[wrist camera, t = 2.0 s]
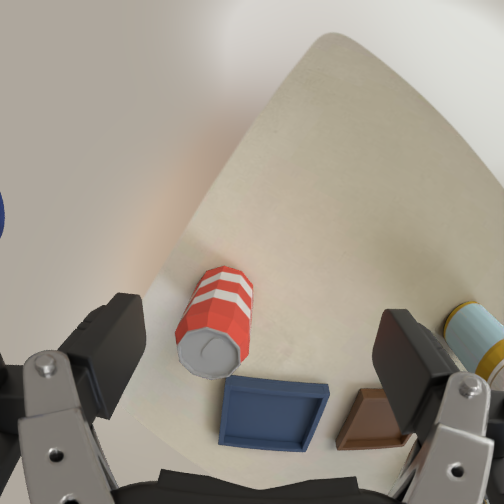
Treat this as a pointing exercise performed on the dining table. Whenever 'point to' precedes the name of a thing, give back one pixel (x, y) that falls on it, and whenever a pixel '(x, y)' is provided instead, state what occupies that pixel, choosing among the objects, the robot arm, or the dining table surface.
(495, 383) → the bottle
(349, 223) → the dining table surface
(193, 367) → the beverage can
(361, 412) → the tray
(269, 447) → the tray
